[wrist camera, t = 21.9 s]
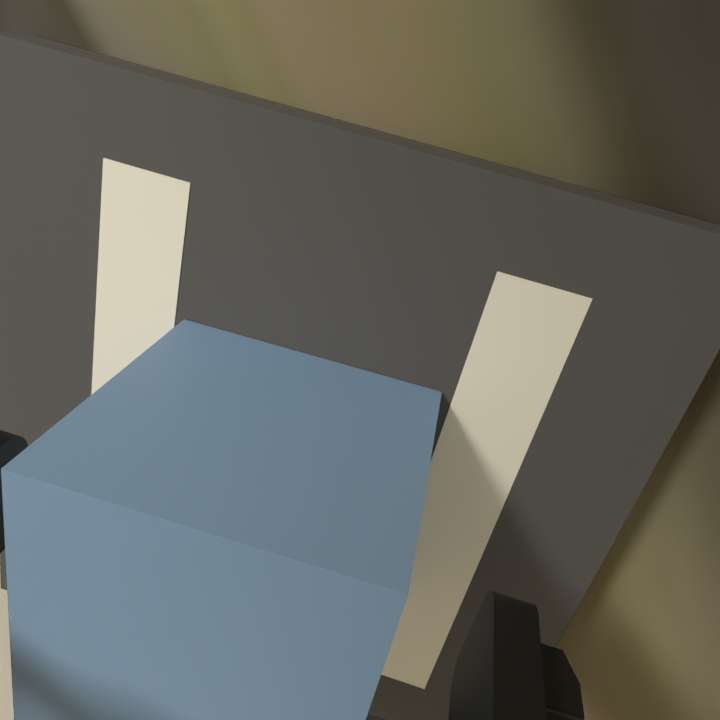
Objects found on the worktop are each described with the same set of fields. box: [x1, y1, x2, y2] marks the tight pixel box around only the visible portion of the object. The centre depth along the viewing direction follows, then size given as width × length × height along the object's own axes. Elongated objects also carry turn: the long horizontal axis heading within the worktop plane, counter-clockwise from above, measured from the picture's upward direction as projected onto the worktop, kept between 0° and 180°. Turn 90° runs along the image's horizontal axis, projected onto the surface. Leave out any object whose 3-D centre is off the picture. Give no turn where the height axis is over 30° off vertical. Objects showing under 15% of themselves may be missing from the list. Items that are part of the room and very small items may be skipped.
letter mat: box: [0, 31, 720, 720], centre depth 13 cm, size 13×13×1 cm
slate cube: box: [1, 319, 442, 720], centre depth 11 cm, size 5×5×5 cm
